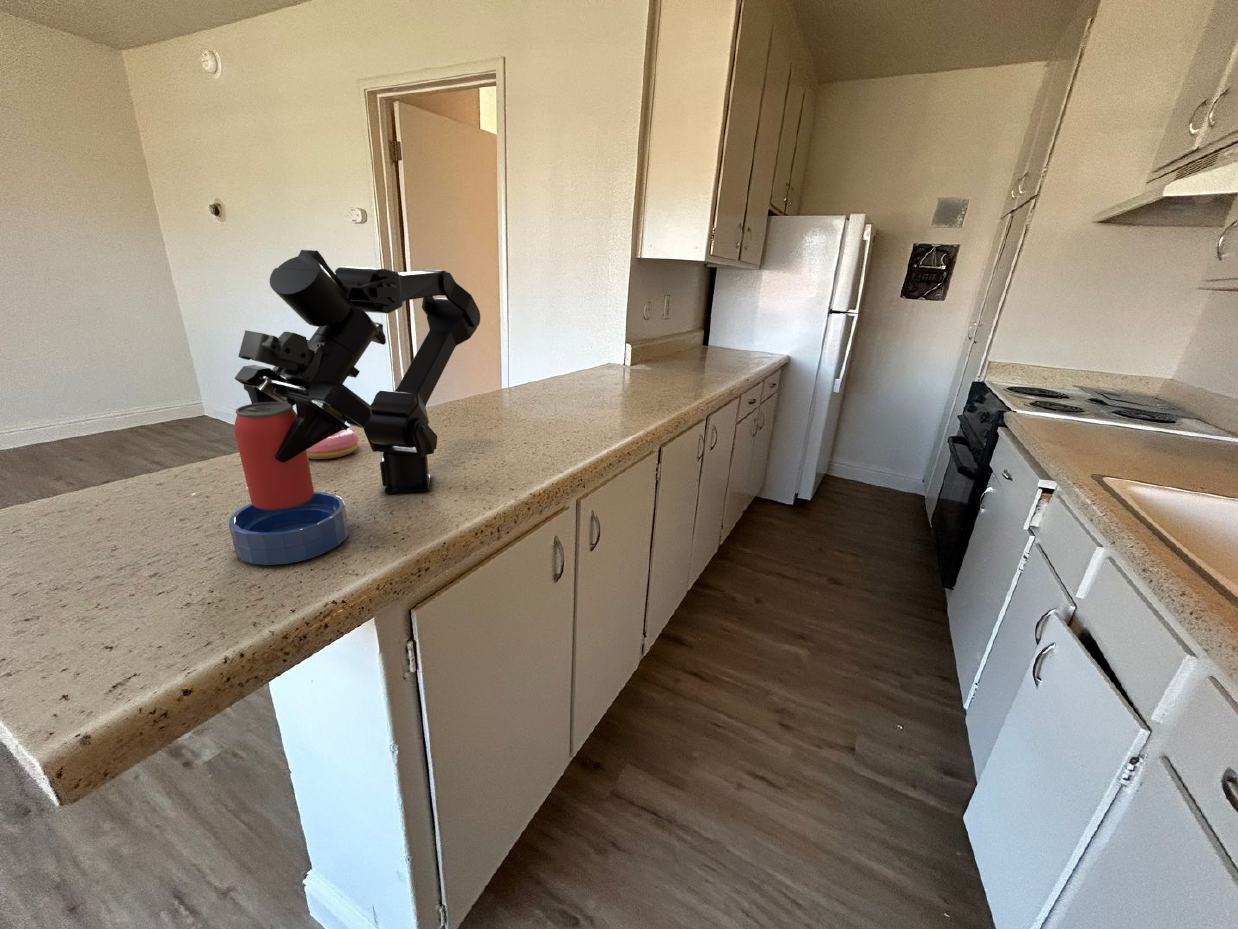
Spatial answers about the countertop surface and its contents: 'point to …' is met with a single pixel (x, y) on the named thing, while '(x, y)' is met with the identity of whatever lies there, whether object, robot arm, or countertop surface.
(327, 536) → the bowl
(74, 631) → the countertop surface
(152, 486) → the countertop surface
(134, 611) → the countertop surface
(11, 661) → the countertop surface
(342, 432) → the doughnut
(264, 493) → the beer can
